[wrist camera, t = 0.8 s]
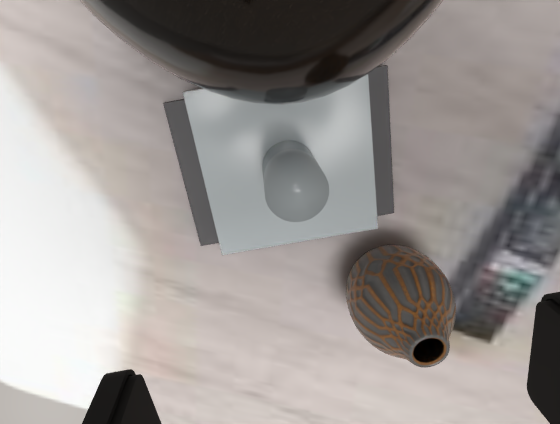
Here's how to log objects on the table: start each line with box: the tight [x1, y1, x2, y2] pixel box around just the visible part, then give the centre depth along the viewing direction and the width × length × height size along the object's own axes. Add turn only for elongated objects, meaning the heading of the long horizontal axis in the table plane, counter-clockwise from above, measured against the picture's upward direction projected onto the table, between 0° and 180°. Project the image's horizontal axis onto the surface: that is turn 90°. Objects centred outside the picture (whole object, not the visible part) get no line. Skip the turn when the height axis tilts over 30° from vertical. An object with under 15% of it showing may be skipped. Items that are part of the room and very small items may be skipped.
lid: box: [183, 74, 378, 255], centre depth 23 cm, size 11×11×6 cm
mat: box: [163, 65, 394, 246], centre depth 26 cm, size 14×10×1 cm
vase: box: [346, 245, 456, 367], centre depth 26 cm, size 7×7×9 cm
